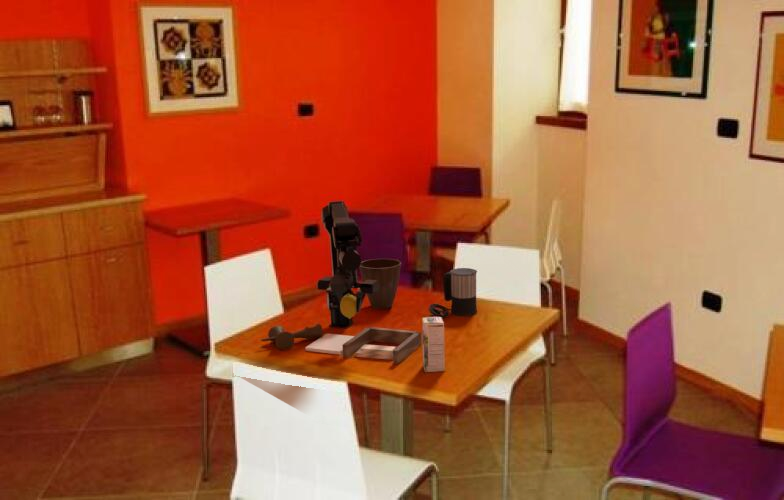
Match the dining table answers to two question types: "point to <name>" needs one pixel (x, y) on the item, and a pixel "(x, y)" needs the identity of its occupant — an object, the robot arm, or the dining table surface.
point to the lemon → (348, 306)
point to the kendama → (292, 335)
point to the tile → (329, 344)
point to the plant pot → (382, 280)
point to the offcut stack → (375, 352)
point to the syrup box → (433, 344)
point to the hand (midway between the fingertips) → (349, 311)
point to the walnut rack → (404, 338)
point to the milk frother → (458, 293)
